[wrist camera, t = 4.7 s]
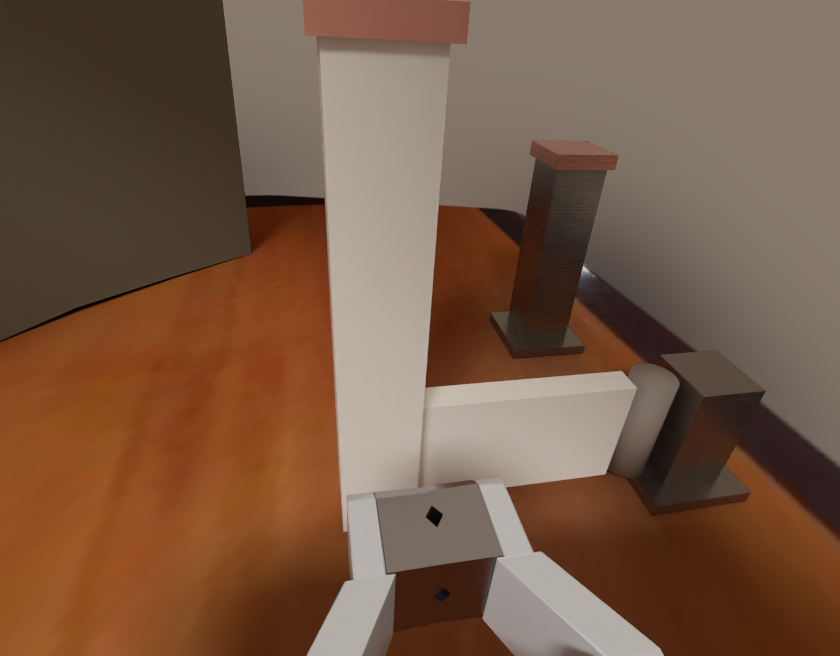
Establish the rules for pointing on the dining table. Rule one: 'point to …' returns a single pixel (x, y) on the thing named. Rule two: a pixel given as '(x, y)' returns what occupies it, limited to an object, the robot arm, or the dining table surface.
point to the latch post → (553, 247)
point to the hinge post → (698, 435)
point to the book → (113, 151)
